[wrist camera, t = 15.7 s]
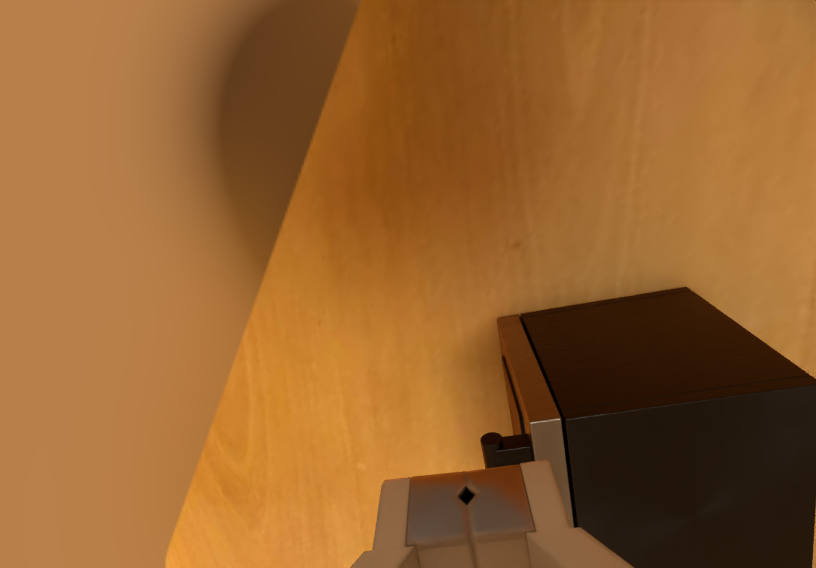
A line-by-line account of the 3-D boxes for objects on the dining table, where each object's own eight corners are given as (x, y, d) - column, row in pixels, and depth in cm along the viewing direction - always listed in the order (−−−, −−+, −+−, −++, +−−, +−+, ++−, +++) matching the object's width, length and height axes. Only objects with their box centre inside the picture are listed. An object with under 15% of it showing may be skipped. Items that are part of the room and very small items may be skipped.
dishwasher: (542, 467, 43) (589, 625, 30) (520, 313, 39) (565, 419, 26) (692, 448, 42) (810, 604, 29) (687, 286, 38) (823, 383, 25)
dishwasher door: (489, 475, 44) (514, 631, 31) (462, 324, 39) (477, 430, 26) (539, 468, 43) (586, 623, 30) (517, 314, 39) (561, 418, 26)
